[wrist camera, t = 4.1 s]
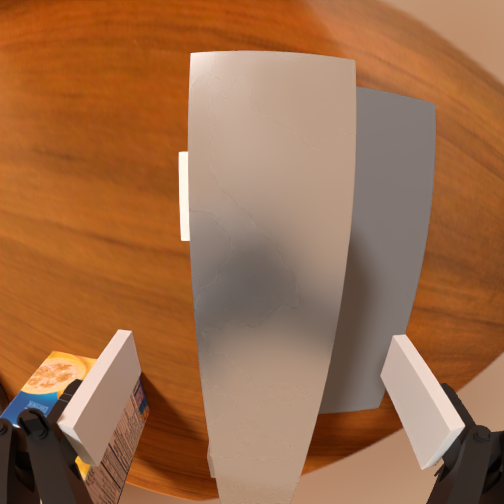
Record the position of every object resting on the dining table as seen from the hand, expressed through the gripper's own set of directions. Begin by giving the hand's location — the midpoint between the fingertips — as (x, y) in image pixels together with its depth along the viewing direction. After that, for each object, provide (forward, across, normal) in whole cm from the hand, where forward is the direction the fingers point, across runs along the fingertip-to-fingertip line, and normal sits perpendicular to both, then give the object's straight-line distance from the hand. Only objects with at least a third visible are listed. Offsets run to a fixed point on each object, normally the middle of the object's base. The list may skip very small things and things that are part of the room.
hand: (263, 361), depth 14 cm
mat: (+10, -9, 0) cm, 13 cm away
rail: (+1, 0, 0) cm, 1 cm away
